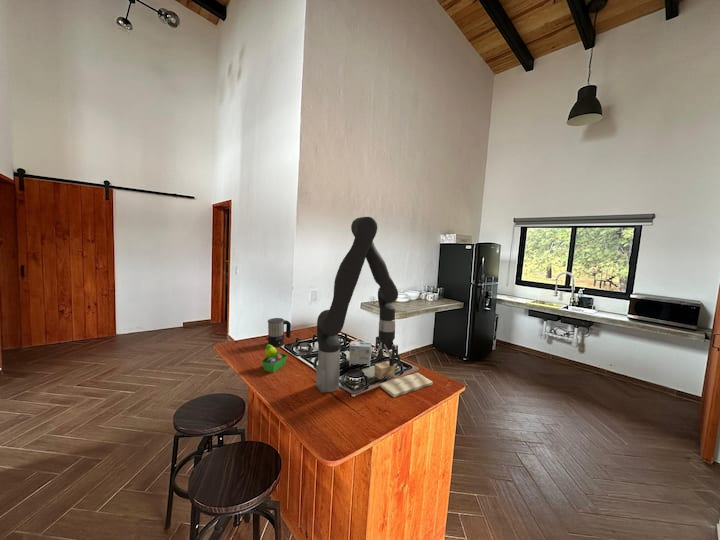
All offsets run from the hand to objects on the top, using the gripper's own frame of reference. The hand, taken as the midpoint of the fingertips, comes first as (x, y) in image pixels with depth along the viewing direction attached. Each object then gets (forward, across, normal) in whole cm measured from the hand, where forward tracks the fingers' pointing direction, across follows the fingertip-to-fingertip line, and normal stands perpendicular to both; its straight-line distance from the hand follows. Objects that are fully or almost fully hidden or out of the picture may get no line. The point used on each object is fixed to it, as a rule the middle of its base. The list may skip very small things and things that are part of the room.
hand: (385, 362), depth 135 cm
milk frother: (+6, -65, -34) cm, 74 cm away
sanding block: (+7, 0, -1) cm, 7 cm away
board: (+7, +11, +3) cm, 14 cm away
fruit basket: (+6, -33, -43) cm, 55 cm away
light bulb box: (+7, -17, -4) cm, 19 cm away
